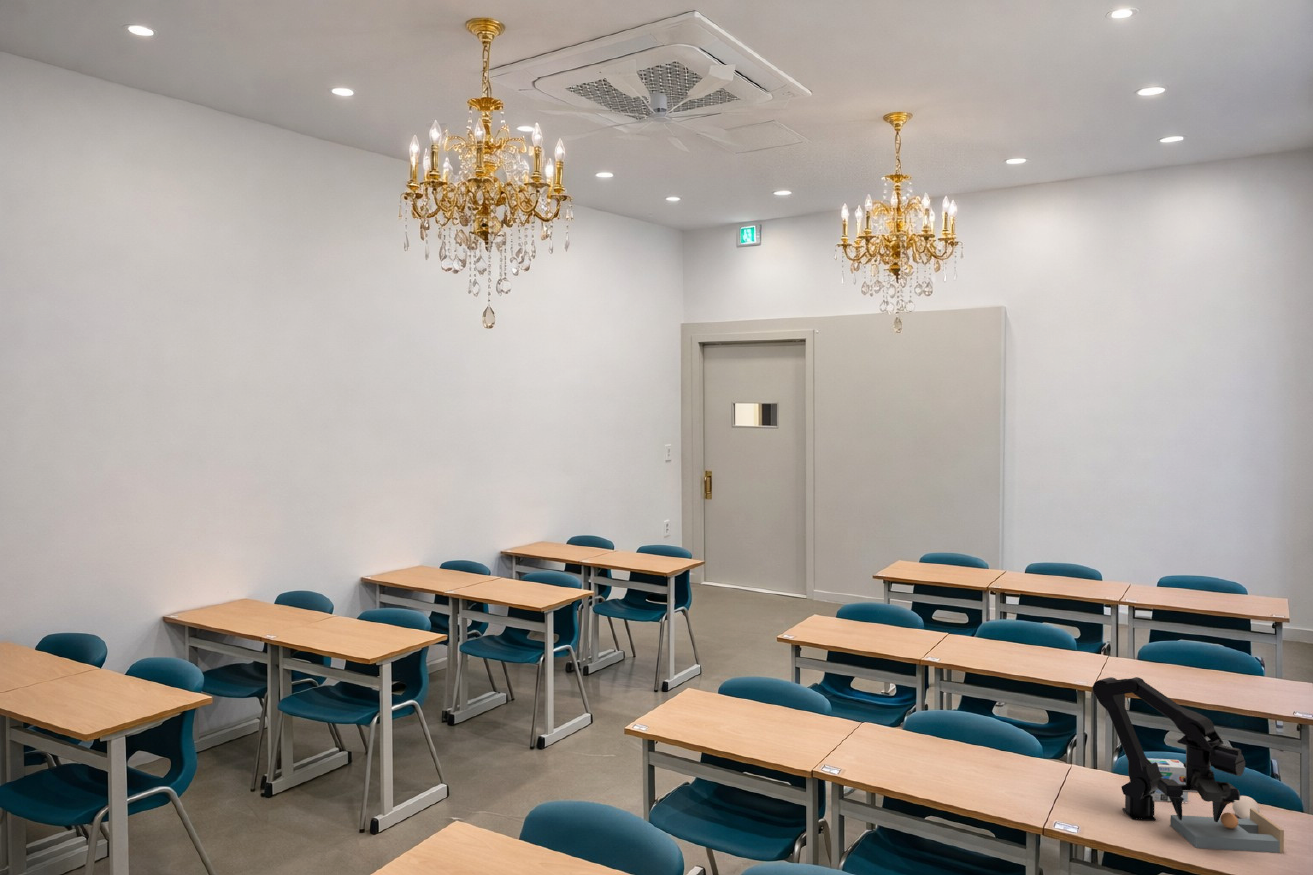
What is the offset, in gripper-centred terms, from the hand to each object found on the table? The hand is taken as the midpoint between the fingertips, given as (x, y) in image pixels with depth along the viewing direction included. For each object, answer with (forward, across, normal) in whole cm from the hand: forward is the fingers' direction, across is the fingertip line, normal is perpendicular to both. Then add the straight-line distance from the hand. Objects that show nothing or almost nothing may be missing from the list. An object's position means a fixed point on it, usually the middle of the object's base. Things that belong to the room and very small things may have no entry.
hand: (1197, 820), depth 228 cm
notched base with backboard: (+5, +7, 0) cm, 8 cm away
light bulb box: (+5, +4, +26) cm, 27 cm away
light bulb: (+5, +20, +12) cm, 24 cm away
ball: (0, +8, 0) cm, 8 cm away
